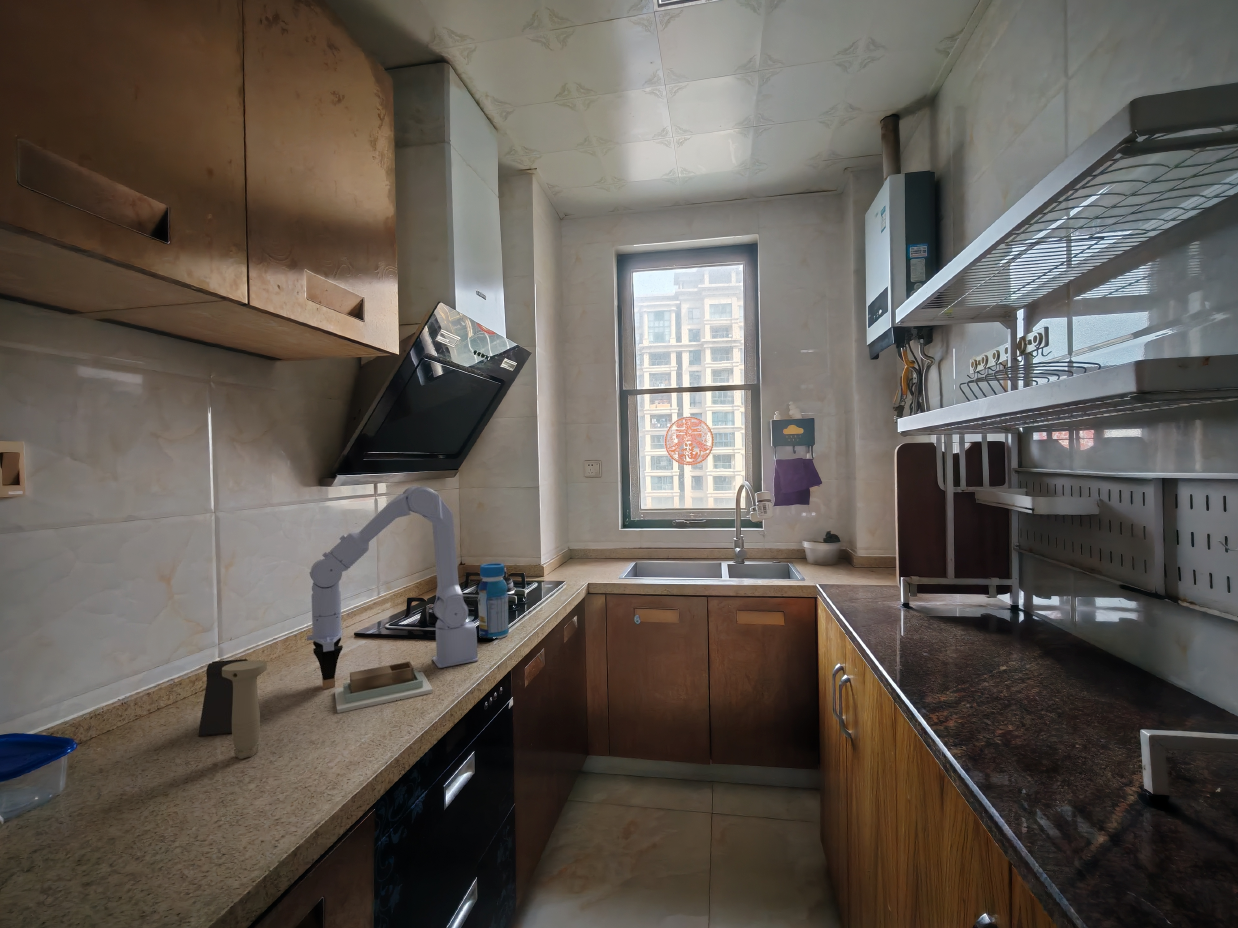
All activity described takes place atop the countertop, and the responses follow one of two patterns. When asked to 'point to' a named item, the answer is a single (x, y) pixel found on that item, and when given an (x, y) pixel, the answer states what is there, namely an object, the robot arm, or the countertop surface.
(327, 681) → the tan square block
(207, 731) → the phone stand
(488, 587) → the beverage bottle
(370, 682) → the tan box sleeve
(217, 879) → the countertop surface
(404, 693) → the cradle
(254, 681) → the handle
